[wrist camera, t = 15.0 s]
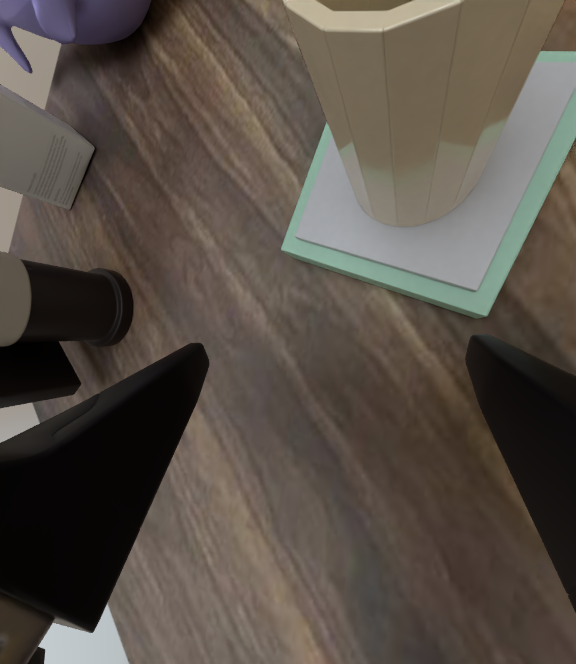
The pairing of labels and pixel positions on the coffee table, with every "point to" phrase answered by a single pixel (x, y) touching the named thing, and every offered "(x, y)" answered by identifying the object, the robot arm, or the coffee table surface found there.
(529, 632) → the coffee table surface
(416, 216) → the beige cup
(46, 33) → the toy whale
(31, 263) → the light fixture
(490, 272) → the scale
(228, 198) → the coffee table surface
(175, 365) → the robot arm
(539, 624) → the coffee table surface
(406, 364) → the coffee table surface
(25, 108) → the cosmetic box
